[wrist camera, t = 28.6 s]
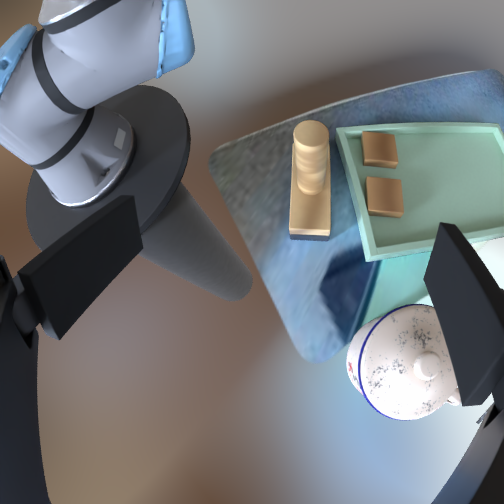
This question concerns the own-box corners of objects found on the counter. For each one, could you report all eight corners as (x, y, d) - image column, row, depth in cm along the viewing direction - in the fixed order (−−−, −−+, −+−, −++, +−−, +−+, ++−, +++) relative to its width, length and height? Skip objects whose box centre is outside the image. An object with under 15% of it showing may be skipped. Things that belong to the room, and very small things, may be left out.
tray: (366, 262, 31) (370, 256, 29) (335, 138, 35) (336, 127, 33) (531, 231, 28) (541, 225, 25) (492, 132, 32) (498, 123, 30)
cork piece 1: (362, 166, 33) (364, 159, 31) (360, 138, 34) (362, 131, 32) (395, 169, 32) (398, 162, 31) (391, 141, 33) (394, 134, 32)
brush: (290, 239, 33) (282, 188, 21) (294, 159, 35) (287, 89, 24) (328, 241, 32) (339, 190, 21) (328, 160, 35) (333, 90, 23)
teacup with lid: (325, 370, 28) (337, 388, 17) (377, 296, 30) (414, 271, 19) (411, 428, 25) (458, 464, 14) (458, 356, 26) (521, 358, 15)
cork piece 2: (365, 215, 31) (368, 210, 30) (364, 182, 32) (366, 176, 31) (400, 218, 31) (404, 213, 29) (397, 185, 32) (401, 179, 30)
